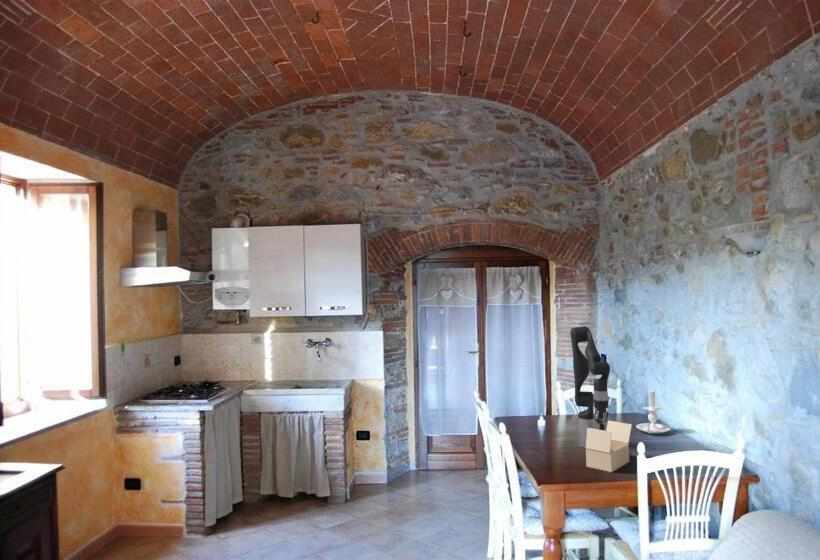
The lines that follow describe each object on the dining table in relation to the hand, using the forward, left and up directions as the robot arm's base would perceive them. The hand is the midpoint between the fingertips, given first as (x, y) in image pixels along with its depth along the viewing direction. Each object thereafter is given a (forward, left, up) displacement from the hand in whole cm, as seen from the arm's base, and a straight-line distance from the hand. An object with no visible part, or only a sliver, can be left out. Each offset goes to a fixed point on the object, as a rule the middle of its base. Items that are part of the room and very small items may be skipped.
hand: (602, 430), depth 284 cm
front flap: (+4, 0, -4) cm, 6 cm away
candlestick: (-81, -5, -20) cm, 83 cm away
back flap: (-19, 0, -5) cm, 20 cm away
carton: (-6, 0, -20) cm, 20 cm away
